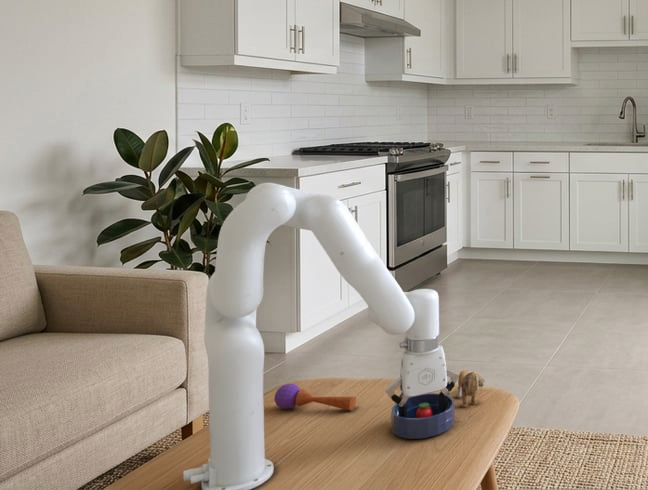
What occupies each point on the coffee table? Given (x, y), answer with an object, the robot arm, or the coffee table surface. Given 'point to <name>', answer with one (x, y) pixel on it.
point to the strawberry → (424, 411)
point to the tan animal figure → (469, 385)
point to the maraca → (308, 398)
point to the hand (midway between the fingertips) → (423, 415)
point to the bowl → (423, 426)
